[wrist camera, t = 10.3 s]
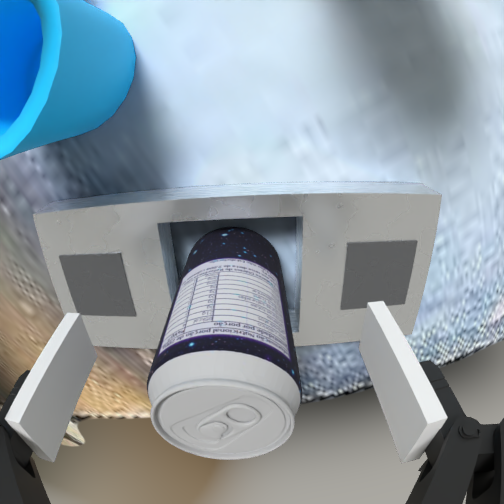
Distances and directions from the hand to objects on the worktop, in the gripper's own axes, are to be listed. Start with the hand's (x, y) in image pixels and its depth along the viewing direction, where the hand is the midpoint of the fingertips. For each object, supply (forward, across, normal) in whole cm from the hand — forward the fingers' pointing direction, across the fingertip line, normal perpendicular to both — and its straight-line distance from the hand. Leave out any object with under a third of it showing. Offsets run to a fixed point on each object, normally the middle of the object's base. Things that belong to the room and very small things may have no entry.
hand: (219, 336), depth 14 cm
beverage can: (+7, 0, 0) cm, 7 cm away
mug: (+8, -8, +15) cm, 19 cm away
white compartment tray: (+7, 0, 0) cm, 7 cm away
